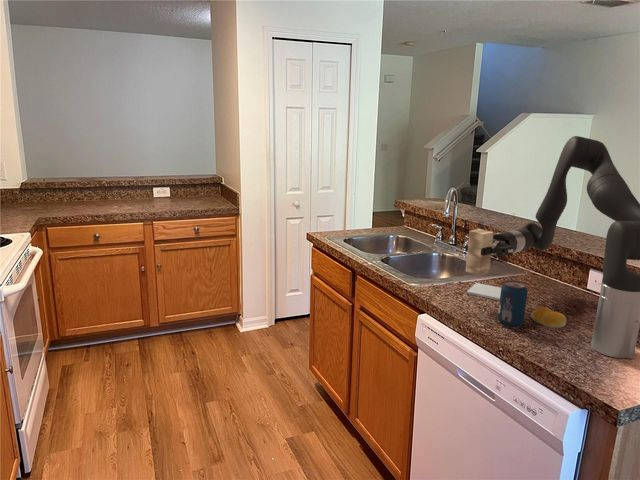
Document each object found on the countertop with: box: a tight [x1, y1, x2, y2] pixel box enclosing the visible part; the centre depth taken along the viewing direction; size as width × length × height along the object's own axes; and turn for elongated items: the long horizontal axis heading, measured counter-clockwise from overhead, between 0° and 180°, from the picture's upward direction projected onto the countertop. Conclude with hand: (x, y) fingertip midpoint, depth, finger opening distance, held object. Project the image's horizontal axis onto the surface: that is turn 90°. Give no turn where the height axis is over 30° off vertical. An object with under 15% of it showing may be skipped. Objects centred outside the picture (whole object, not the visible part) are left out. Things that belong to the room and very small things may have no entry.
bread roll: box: [530, 306, 567, 329], centre depth 137 cm, size 8×9×4 cm
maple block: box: [465, 228, 495, 277], centre depth 146 cm, size 5×5×13 cm
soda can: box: [497, 280, 528, 329], centre depth 134 cm, size 7×7×12 cm
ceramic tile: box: [466, 282, 501, 302], centre depth 160 cm, size 11×11×1 cm
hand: (474, 250), depth 144 cm, fingers closed on maple block, 5 cm apart
